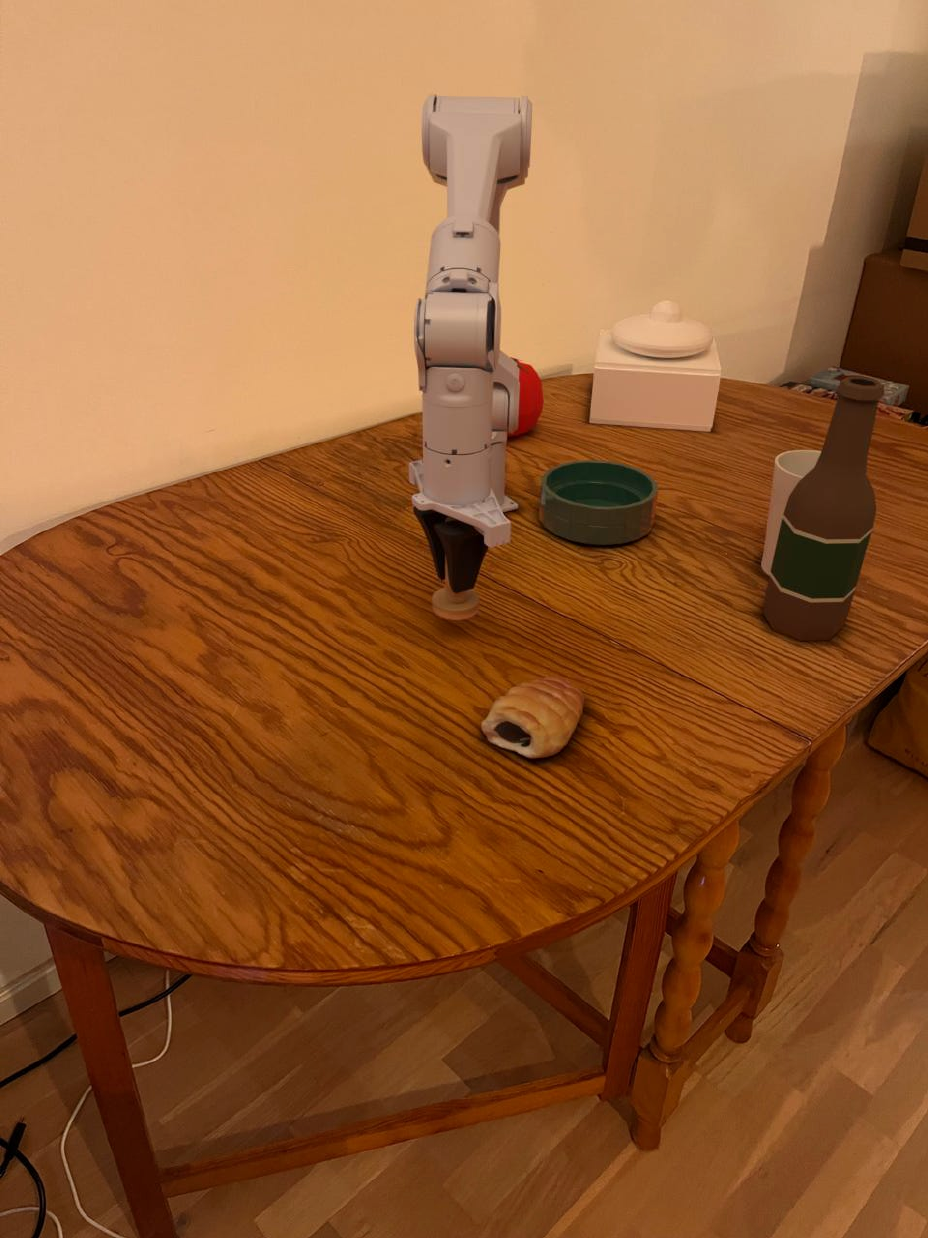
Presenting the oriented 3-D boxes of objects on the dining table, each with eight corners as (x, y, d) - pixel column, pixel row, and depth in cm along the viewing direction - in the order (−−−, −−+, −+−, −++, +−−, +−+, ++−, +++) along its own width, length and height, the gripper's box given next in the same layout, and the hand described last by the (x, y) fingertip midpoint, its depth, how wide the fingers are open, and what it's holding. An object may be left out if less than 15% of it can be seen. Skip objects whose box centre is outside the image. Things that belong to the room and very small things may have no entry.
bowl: (517, 512, 109) (519, 473, 106) (606, 490, 114) (610, 452, 112) (582, 559, 99) (586, 518, 97) (676, 533, 105) (682, 493, 102)
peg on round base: (423, 601, 85) (422, 515, 80) (464, 590, 87) (465, 505, 82) (446, 624, 82) (446, 536, 77) (488, 612, 84) (491, 524, 79)
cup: (835, 592, 94) (864, 484, 88) (755, 583, 95) (778, 477, 89) (825, 555, 101) (852, 453, 94) (751, 547, 102) (772, 446, 95)
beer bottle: (843, 609, 91) (910, 372, 78) (844, 650, 85) (916, 401, 72) (763, 595, 93) (815, 362, 80) (758, 634, 87) (813, 389, 74)
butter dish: (589, 423, 134) (599, 312, 125) (594, 383, 149) (604, 282, 140) (711, 431, 132) (730, 319, 123) (704, 391, 146) (721, 288, 138)
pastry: (534, 683, 80) (537, 647, 78) (603, 712, 77) (608, 675, 75) (474, 740, 74) (476, 703, 72) (546, 774, 71) (550, 736, 69)
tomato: (544, 449, 125) (549, 373, 119) (454, 448, 125) (454, 372, 119) (538, 415, 136) (542, 344, 131) (455, 414, 136) (456, 342, 131)
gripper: (376, 421, 79) (382, 558, 87) (457, 483, 69) (456, 633, 76) (447, 408, 82) (447, 541, 90) (536, 466, 72) (527, 611, 79)
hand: (455, 582), depth 83 cm, fingers closed on peg on round base, 2 cm apart
